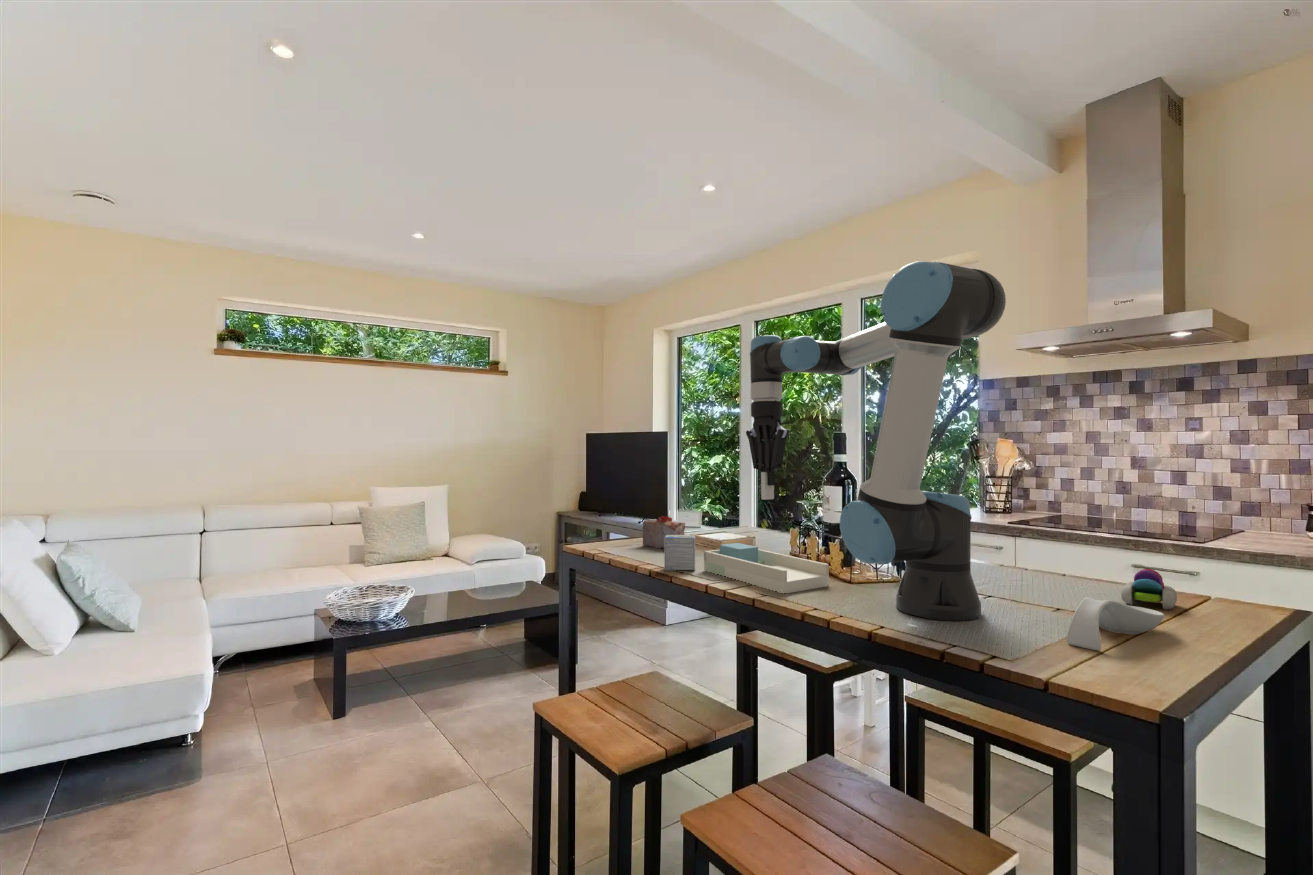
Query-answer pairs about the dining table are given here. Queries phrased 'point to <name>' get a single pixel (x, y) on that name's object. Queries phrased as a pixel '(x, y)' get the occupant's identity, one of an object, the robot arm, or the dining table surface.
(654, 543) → the gift box with bow
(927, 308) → the robot arm
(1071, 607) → the dining table surface
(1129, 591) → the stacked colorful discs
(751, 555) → the block
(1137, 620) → the spoon rest
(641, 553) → the dining table surface
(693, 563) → the grey upright rectangular block
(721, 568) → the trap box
